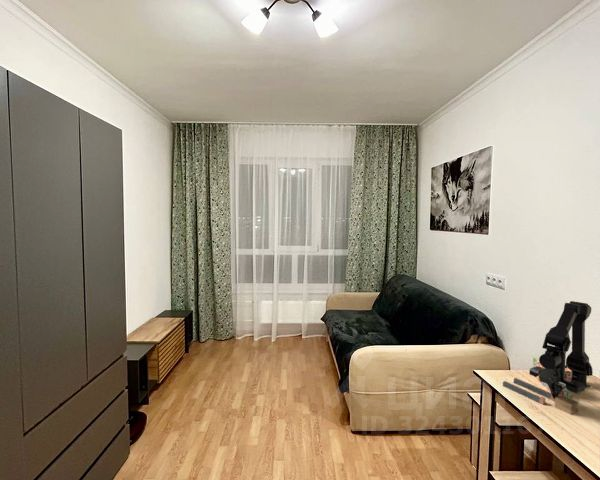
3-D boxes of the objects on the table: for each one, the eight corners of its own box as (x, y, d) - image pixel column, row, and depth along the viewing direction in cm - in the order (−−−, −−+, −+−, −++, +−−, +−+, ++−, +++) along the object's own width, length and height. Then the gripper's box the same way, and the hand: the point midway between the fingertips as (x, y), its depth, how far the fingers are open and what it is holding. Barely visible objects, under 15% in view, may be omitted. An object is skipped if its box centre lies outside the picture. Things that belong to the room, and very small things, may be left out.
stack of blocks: (532, 375, 175) (533, 350, 174) (546, 376, 174) (547, 351, 173) (554, 397, 154) (556, 369, 153) (571, 398, 153) (572, 370, 152)
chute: (515, 382, 168) (515, 376, 168) (556, 400, 151) (556, 394, 151) (502, 385, 164) (503, 380, 164) (543, 404, 148) (543, 399, 148)
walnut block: (561, 404, 148) (562, 395, 148) (577, 411, 143) (578, 401, 142) (554, 407, 146) (554, 397, 146) (570, 414, 141) (571, 404, 140)
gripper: (521, 357, 152) (520, 392, 153) (569, 375, 135) (567, 414, 136) (538, 353, 156) (536, 387, 157) (586, 369, 139) (584, 408, 140)
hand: (554, 398), depth 148 cm, fingers closed
